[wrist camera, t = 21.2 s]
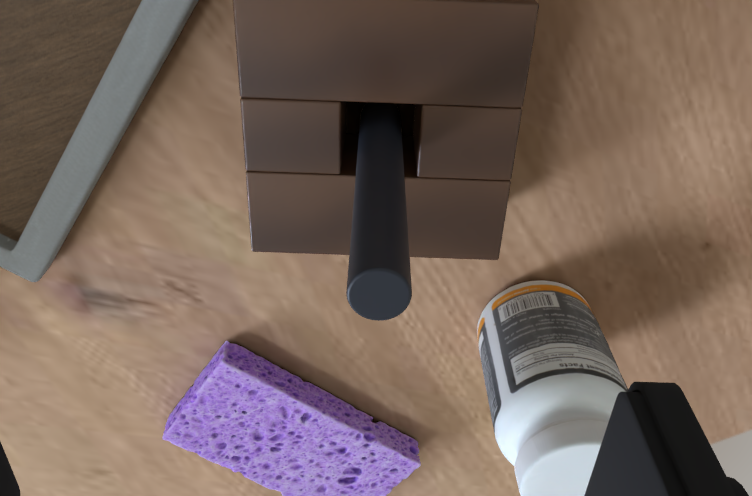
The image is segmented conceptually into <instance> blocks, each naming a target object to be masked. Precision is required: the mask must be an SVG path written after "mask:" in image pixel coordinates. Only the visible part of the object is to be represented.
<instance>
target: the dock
mask: <svg viewBox="0 0 752 496" xmlns="http://www.w3.org/2000/svg"><path fill="white" fill-rule="evenodd" d="M233 8H234V22H235V35H236V48H237V61H238V75H239V88H240V96H241V100H240V101H241V114H242V127H243V140H244V154H245V167H246V170H247V171H246V182H247V195H248V208H249V221H250V235H251V248H252V251H254V252H283V253H312V254H341V255H350V242H351V229H352V216H353V204H354V191H355V178H356V165H357V152H358V139H359V134H345V133H346V101H349V102H376V103H403V104H415V109H414V123H413V136H402V146H403V162H404V178H405V194H406V209H407V225H408V241H409V257H427V258H456V259H485V260H498V258H499V252H500V246H501V240H502V234H503V227H504V221H505V215H506V209H507V202H508V196H509V190H510V184H511V182H510V179H511V176H512V170H513V164H514V158H515V151H516V145H517V139H518V133H519V126H520V120H521V114H522V109H521V108H522V106H523V102H524V95H525V89H526V83H527V77H528V70H529V64H530V58H531V51H532V45H533V39H534V33H535V26H536V20H537V14H538V8H539V5H538V3H537V2H536V1H535V0H233Z"/></svg>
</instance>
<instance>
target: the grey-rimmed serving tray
mask: <svg viewBox="0 0 752 496" xmlns="http://www.w3.org/2000/svg"><path fill="white" fill-rule="evenodd" d="M197 2H198V0H0V267H2V268H4V269H6V270H8V271H10V272H12V273H14V274H16V275H18V276H20V277H22V278H24V279H27V280H29V281H31V282H37V281H39V280H40V279H41V277H42V276H43V275H44V274H45V272H46V271H47V270H48V268H49V267H50V265H51V264H52V262H53V260H54V259H55V257H56V255H57V253H58V251H59V250H60V248H61V246H62V244H63V242H64V241H65V239H66V237H67V235H68V233H69V232H70V230H71V228H72V226H73V224H74V223H75V221H76V219H77V217H78V216H79V214H80V212H81V210H82V208H83V207H84V205H85V203H86V201H87V199H88V198H89V196H90V194H91V192H92V190H93V189H94V187H95V185H96V183H97V181H98V180H99V178H100V176H101V174H102V172H103V171H104V169H105V167H106V165H107V164H108V162H109V160H110V158H111V156H112V155H113V153H114V151H115V149H116V147H117V146H118V144H119V142H120V140H121V138H122V137H123V135H124V133H125V131H126V129H127V128H128V126H129V124H130V122H131V120H132V119H133V117H134V115H135V113H136V111H137V110H138V108H139V106H140V104H141V103H142V101H143V99H144V97H145V95H146V94H147V92H148V90H149V88H150V86H151V85H152V83H153V81H154V79H155V77H156V76H157V74H158V72H159V70H160V68H161V67H162V65H163V63H164V61H165V59H166V58H167V56H168V54H169V52H170V51H171V49H172V47H173V45H174V43H175V42H176V40H177V38H178V36H179V34H180V33H181V31H182V29H183V27H184V25H185V24H186V22H187V20H188V18H189V16H190V15H191V13H192V11H193V9H194V7H195V6H196V4H197Z"/></svg>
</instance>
